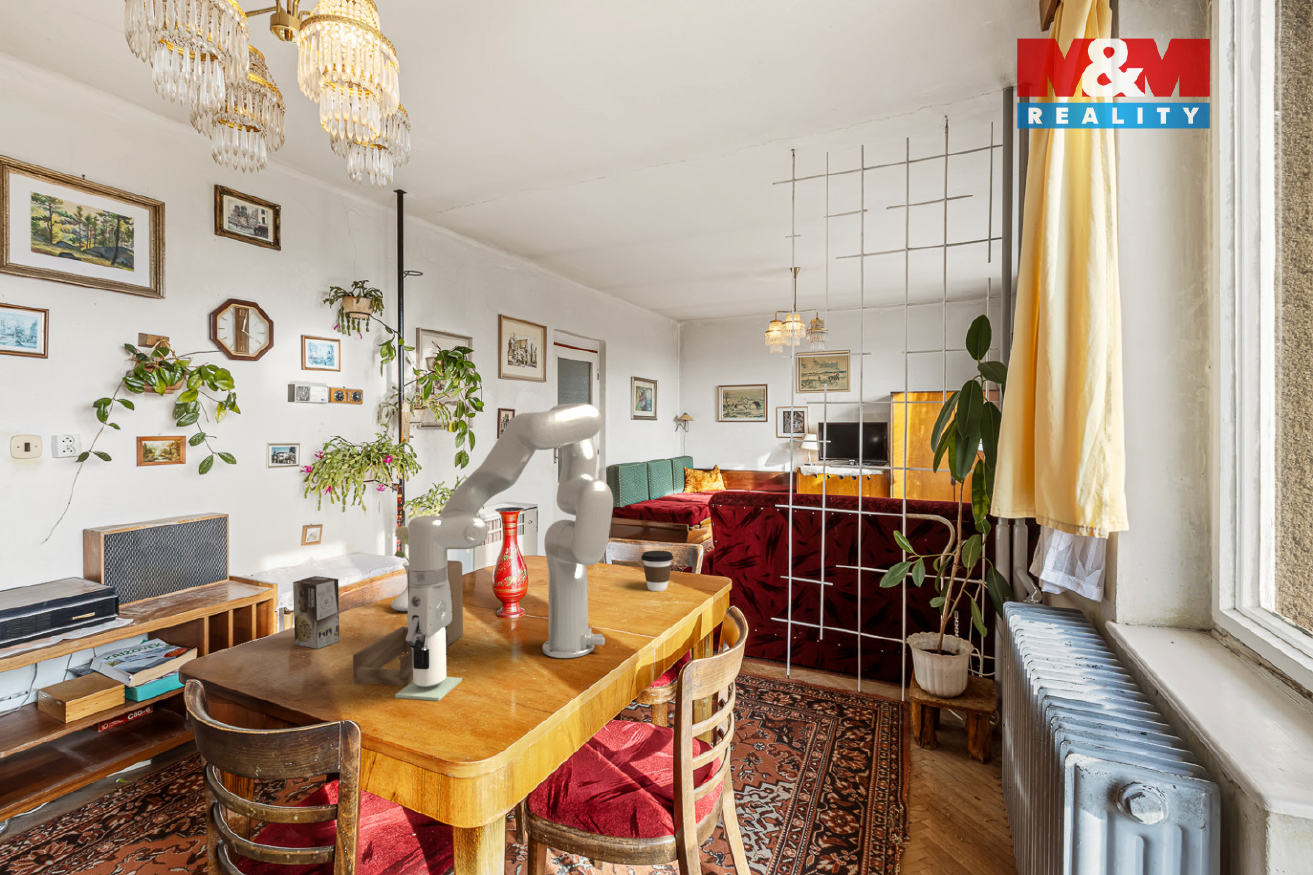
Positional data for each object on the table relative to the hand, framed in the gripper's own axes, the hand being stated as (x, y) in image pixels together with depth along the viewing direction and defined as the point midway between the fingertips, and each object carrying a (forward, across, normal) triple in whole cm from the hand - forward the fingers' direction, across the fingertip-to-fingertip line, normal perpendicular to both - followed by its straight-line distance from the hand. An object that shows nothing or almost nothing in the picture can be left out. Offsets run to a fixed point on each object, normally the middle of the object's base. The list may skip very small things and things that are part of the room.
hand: (430, 661), depth 123 cm
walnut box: (+6, +9, +12) cm, 16 cm away
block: (+6, +25, +13) cm, 29 cm away
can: (+4, 0, 0) cm, 4 cm away
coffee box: (+6, +20, +43) cm, 48 cm away
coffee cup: (+6, +81, -35) cm, 89 cm away
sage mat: (+6, 0, 0) cm, 6 cm away
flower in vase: (+6, +50, +36) cm, 62 cm away
